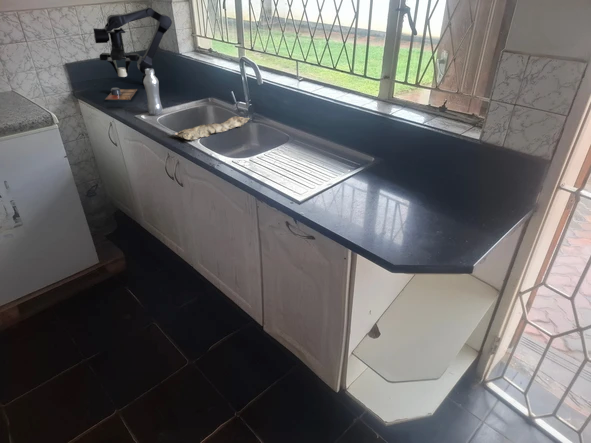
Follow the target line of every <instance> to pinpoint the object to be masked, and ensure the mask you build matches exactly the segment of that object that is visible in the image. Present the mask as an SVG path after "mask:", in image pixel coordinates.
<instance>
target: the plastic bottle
mask: <svg viewBox="0 0 591 443" xmlns="http://www.w3.org/2000/svg"><path fill="white" fill-rule="evenodd" d="M154 72H155V69H154V68H151V69H145V74H146V76H145V78H144V81H143V83H144V90H145V94H146V99H147V100H146V101H147V102H146V103H147V104H146V108H147V112H148V113H149V115H152V116H157V115H161V114H162V113H163V109H164V108H163V105H162V102H161V97H160V84H159V82H160V81H159V79H158V77H156V72H155V73H154ZM154 74H155V75H154ZM143 83H142V84H143Z"/></svg>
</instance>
